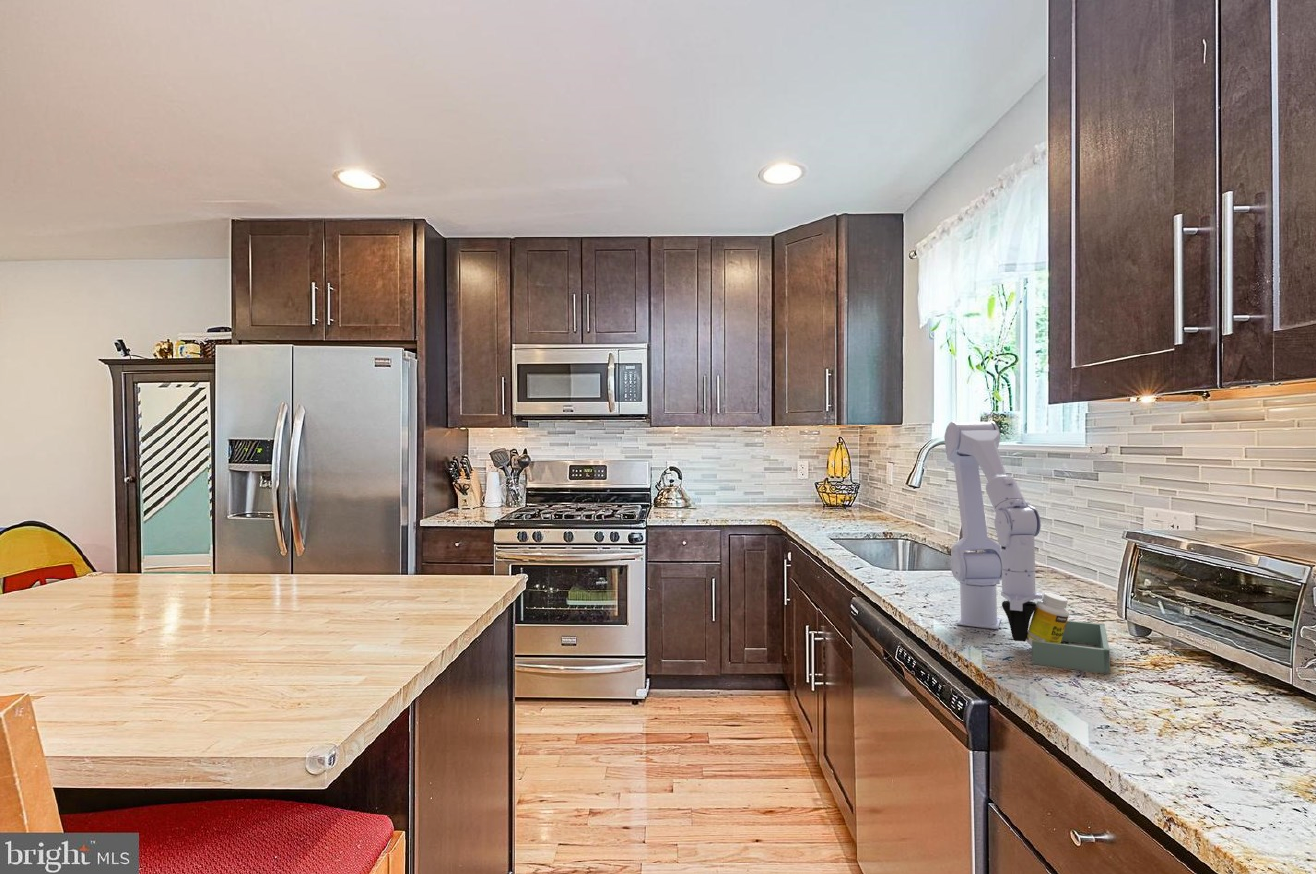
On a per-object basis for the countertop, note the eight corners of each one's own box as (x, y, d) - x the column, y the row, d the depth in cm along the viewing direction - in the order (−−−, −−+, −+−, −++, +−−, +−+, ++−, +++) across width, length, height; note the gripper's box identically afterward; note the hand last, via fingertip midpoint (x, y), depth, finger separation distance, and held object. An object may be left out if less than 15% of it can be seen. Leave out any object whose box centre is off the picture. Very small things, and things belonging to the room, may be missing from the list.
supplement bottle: (1047, 655, 125) (1062, 603, 124) (1019, 641, 130) (1033, 590, 129) (1063, 653, 128) (1078, 602, 127) (1035, 639, 133) (1049, 590, 132)
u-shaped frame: (1036, 637, 138) (1036, 617, 138) (1105, 644, 132) (1104, 624, 132) (1032, 663, 122) (1032, 641, 122) (1110, 674, 116) (1109, 650, 116)
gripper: (1040, 578, 123) (1042, 653, 123) (1043, 565, 135) (1044, 633, 135) (996, 574, 127) (998, 648, 127) (1003, 562, 139) (1005, 628, 139)
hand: (1019, 640), depth 131 cm, fingers closed, pressing on supplement bottle
